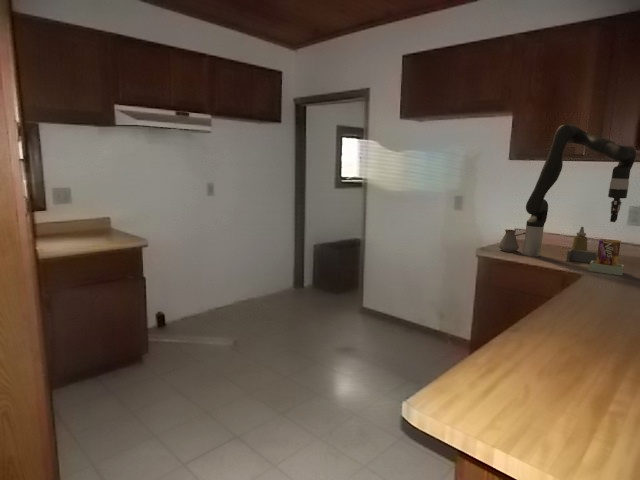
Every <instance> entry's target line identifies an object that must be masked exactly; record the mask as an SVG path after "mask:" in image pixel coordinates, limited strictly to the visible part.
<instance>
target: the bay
mask: <svg viewBox="0 0 640 480" xmlns="http://www.w3.org/2000/svg"><path fill="white" fill-rule="evenodd" d="M566 254H567V255H566V261H567V263H569V262H571V261H573V260H574V261H575V262H581V263H589V264H590V262H591V261H592V260H593V261H597V254H598V252H593V251H589V250H587V251H581V250H573V249H571V248H570V249H568V250H567V253H566Z"/></svg>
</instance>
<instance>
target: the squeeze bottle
mask: <svg viewBox="0 0 640 480" xmlns="http://www.w3.org/2000/svg"><path fill="white" fill-rule="evenodd" d="M570 249H573V250H581V251H588V237H587V233H586V232H585V228H584V226H581V227H580V228H579V231H578V232H576V235H575V236H574V237H573V241H572V244H571V248H570Z"/></svg>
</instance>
